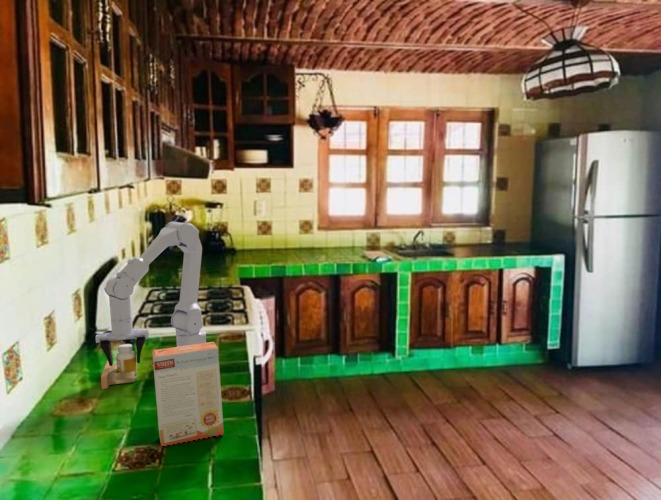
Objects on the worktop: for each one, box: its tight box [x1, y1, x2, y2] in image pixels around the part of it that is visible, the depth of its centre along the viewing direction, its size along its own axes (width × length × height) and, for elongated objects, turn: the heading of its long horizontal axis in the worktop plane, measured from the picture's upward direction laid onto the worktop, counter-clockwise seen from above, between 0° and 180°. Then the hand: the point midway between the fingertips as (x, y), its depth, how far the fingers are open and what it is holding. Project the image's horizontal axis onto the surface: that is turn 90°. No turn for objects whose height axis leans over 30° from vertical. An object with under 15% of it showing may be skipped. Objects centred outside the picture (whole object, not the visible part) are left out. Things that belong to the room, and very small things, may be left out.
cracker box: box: [151, 341, 225, 447], centre depth 129 cm, size 14×6×21 cm, turn 110°
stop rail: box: [100, 360, 111, 390], centre depth 167 cm, size 2×14×4 cm, turn 14°
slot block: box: [108, 361, 138, 386], centre depth 168 cm, size 7×10×3 cm
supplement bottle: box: [115, 343, 138, 379], centre depth 168 cm, size 5×5×10 cm
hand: (125, 363), depth 168 cm, fingers open, 7 cm apart
